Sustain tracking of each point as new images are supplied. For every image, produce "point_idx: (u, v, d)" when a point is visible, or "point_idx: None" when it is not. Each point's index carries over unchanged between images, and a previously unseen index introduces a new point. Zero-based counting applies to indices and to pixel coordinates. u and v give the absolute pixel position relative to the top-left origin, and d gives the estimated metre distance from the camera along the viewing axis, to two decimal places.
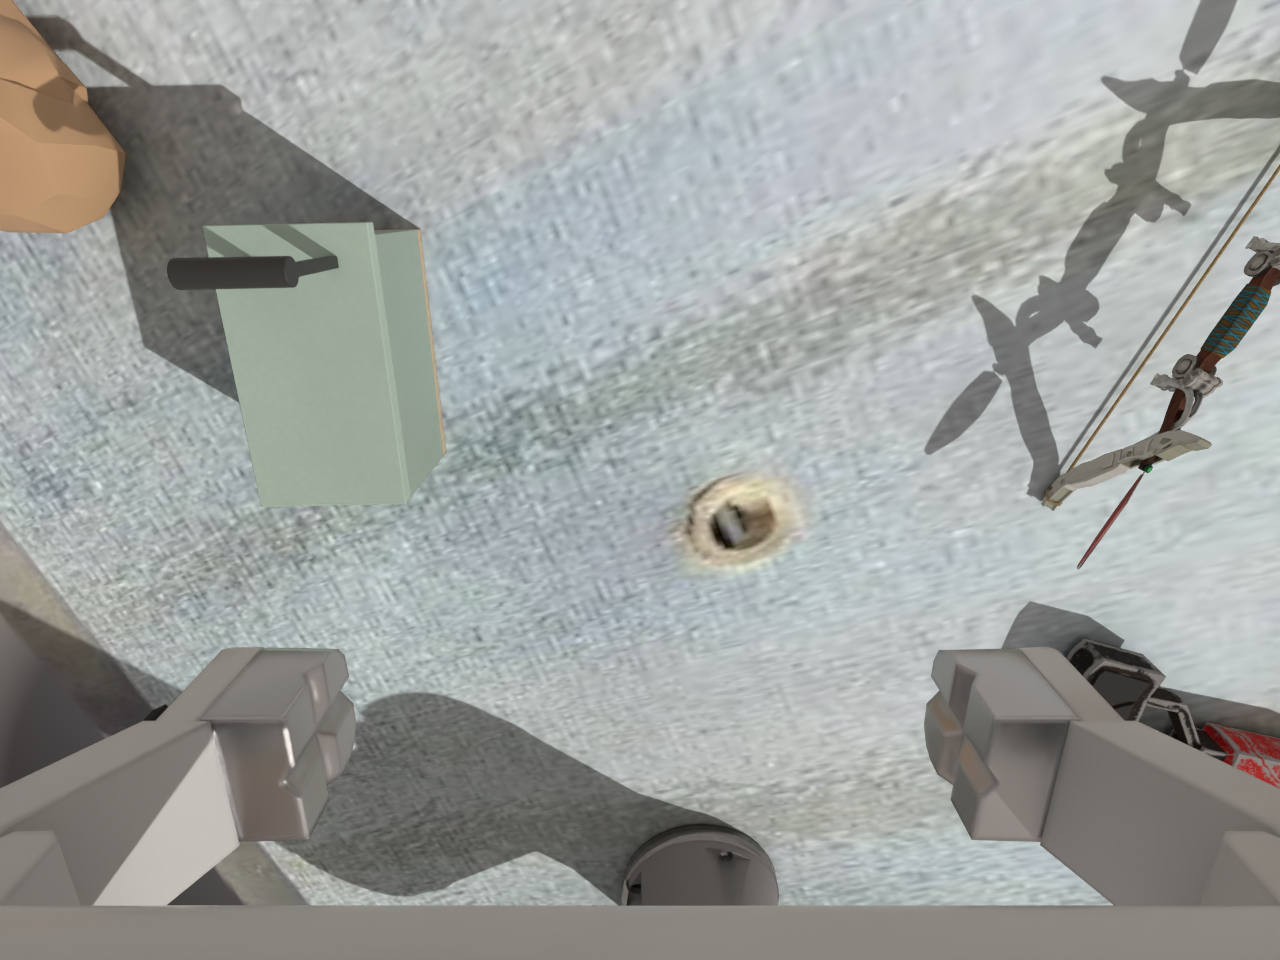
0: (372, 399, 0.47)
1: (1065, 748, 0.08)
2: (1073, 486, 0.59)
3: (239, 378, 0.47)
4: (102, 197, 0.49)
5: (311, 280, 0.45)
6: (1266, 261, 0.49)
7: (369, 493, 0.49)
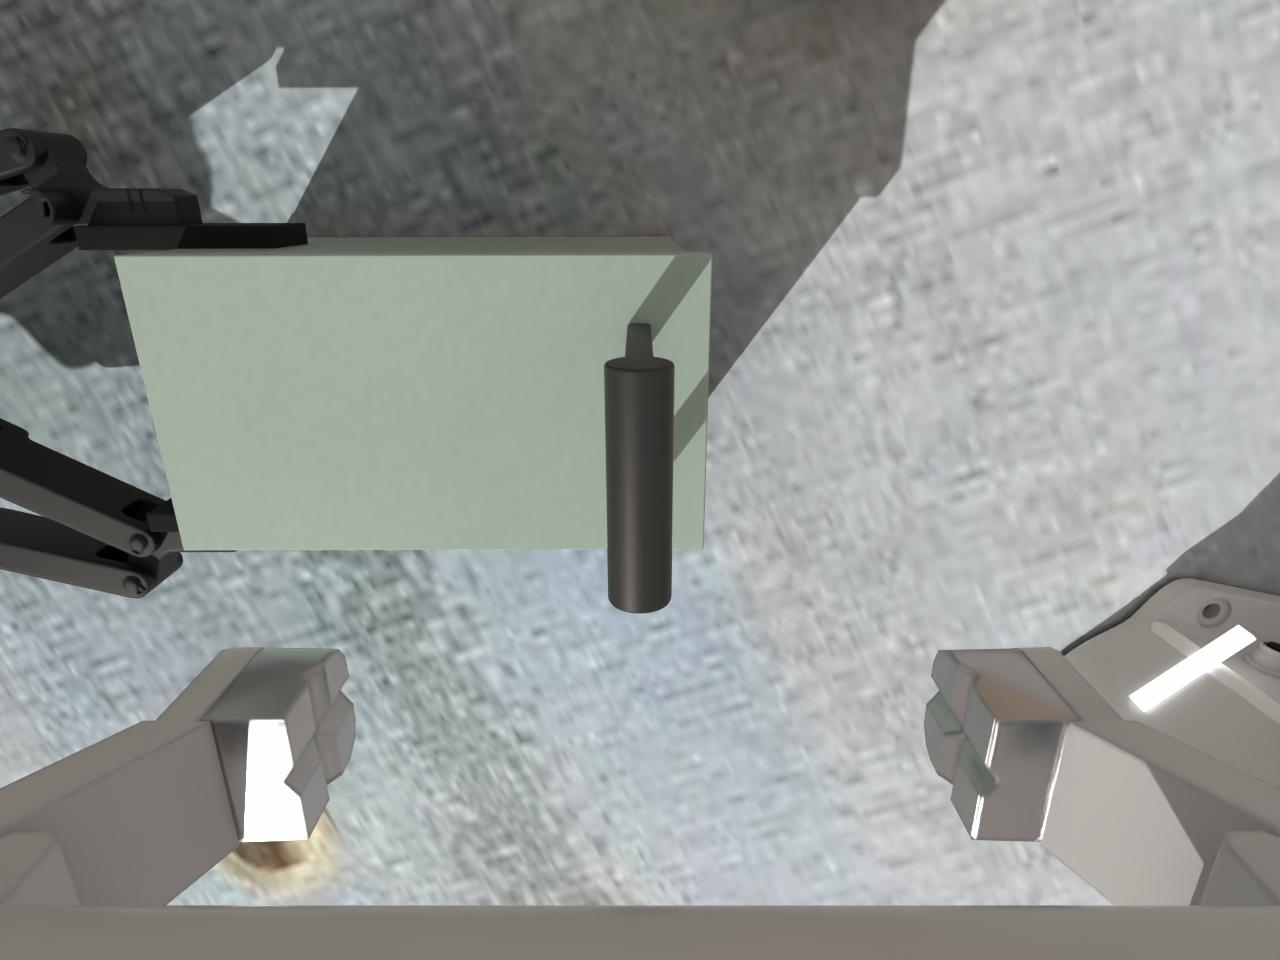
0: (389, 518, 0.25)
1: (1065, 748, 0.08)
2: None
3: (406, 267, 0.22)
4: None
5: None
6: None
7: (193, 487, 0.25)
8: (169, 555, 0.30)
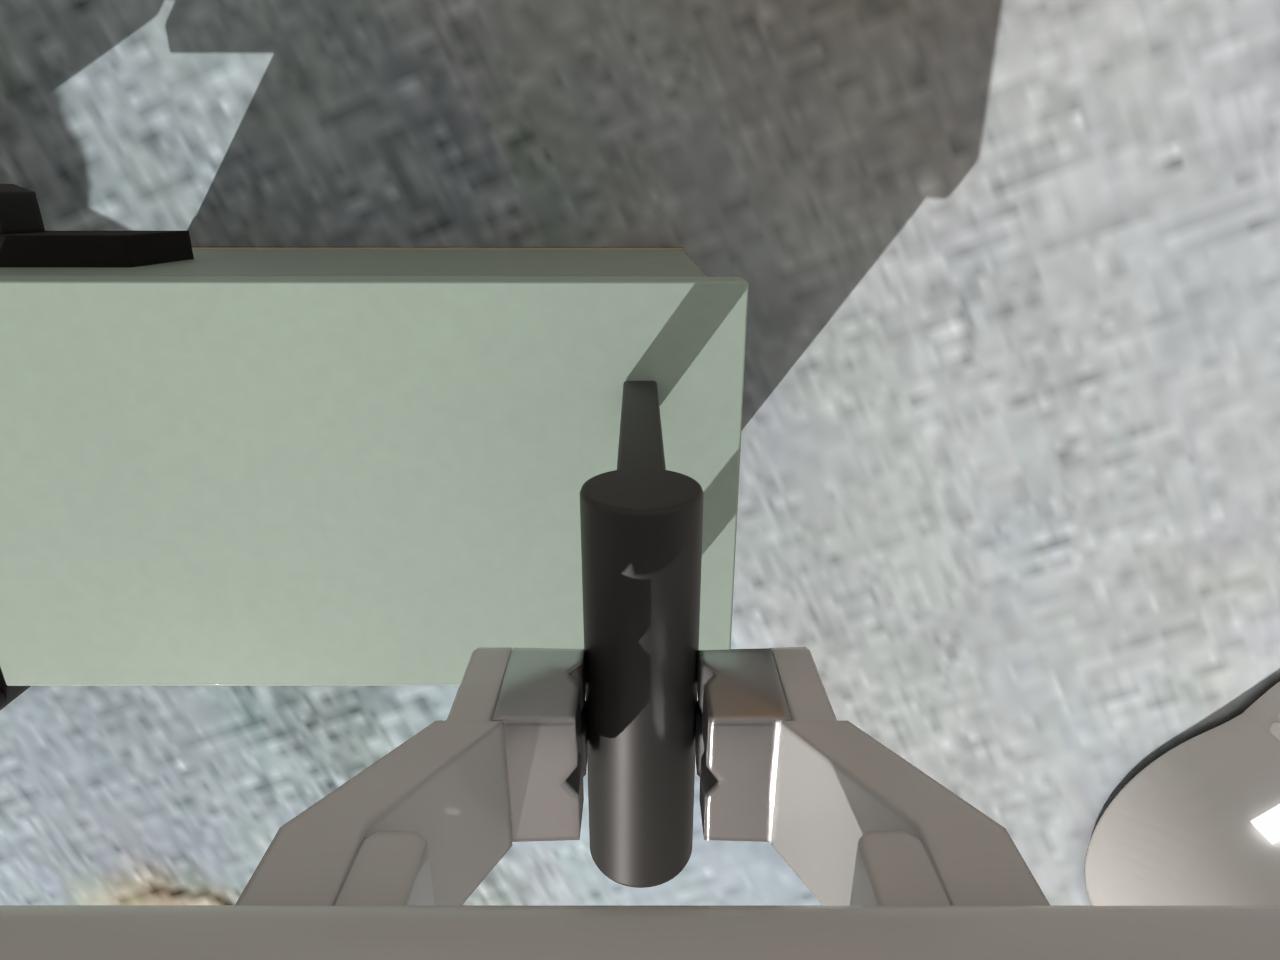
0: (291, 644, 0.18)
1: (779, 748, 0.08)
2: None
3: (298, 299, 0.15)
4: None
5: None
6: None
7: (12, 604, 0.17)
8: None
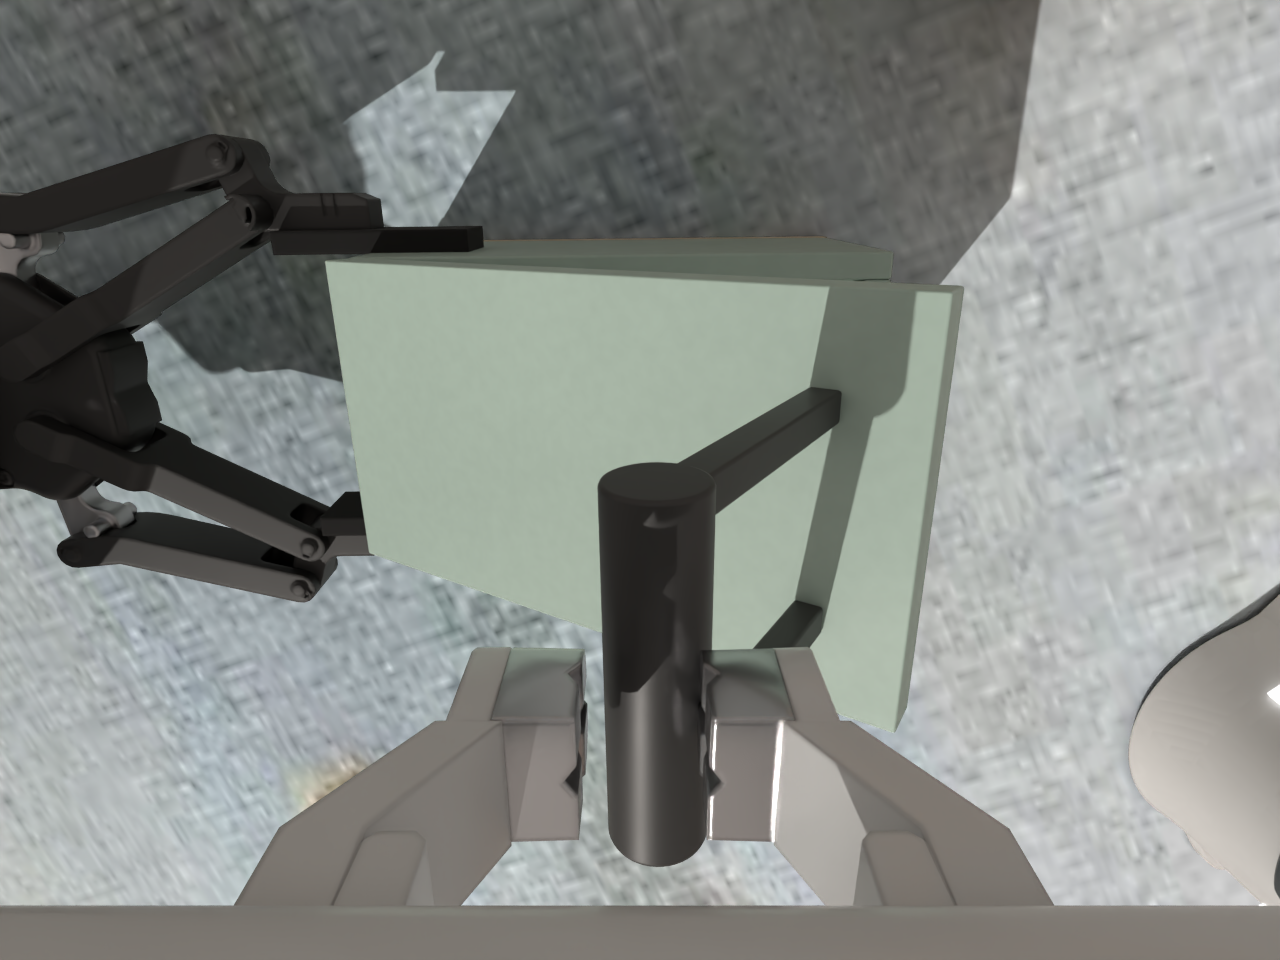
0: (527, 572, 0.22)
1: (782, 748, 0.08)
2: None
3: (553, 287, 0.18)
4: None
5: (770, 548, 0.17)
6: None
7: (375, 495, 0.24)
8: (331, 559, 0.31)
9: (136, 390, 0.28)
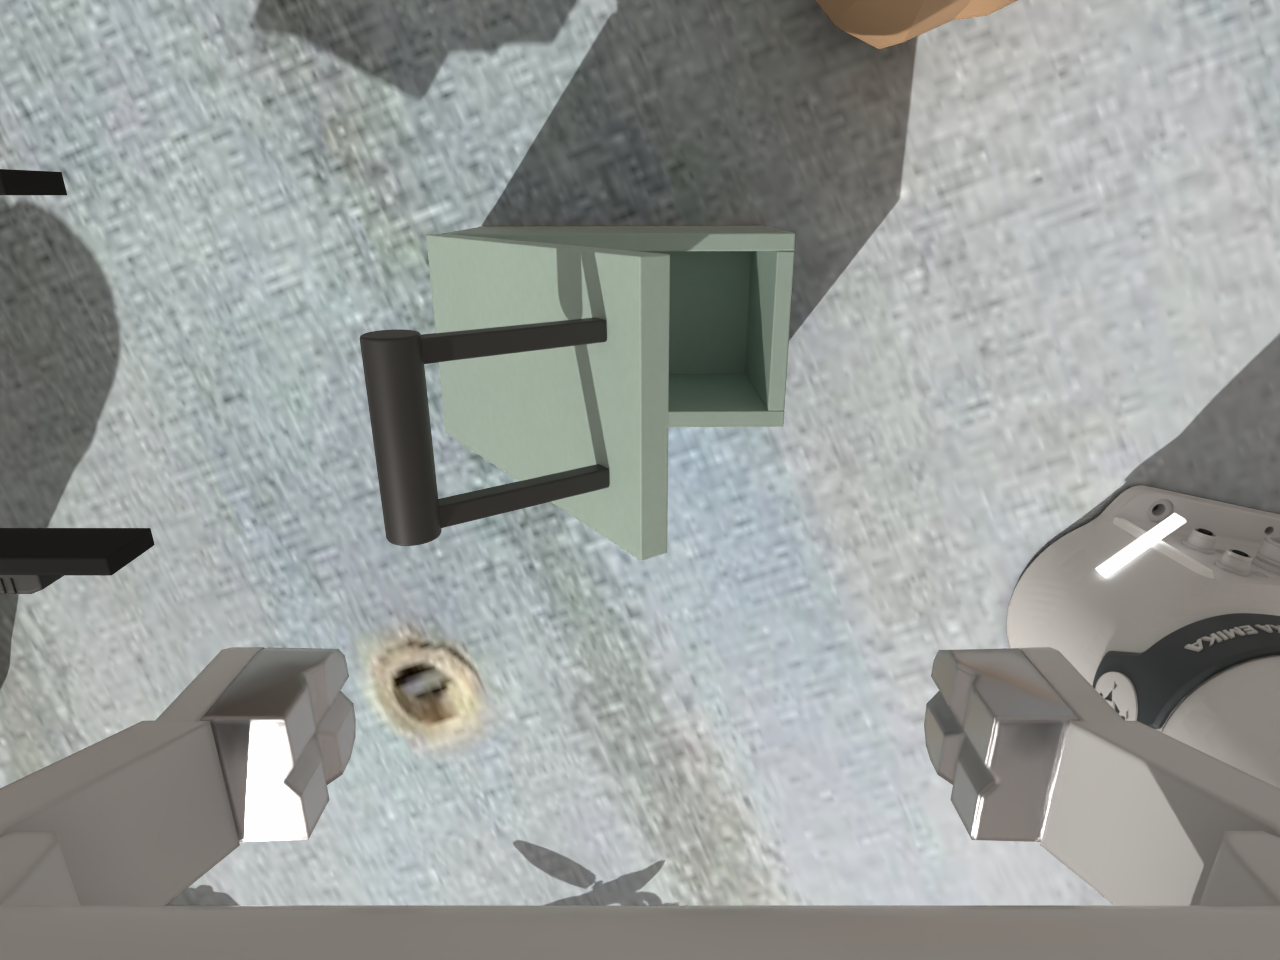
0: (502, 446, 0.32)
1: (1065, 748, 0.08)
2: None
3: (505, 252, 0.28)
4: (837, 19, 0.38)
5: (588, 427, 0.26)
6: None
7: (447, 392, 0.37)
8: None
9: None
